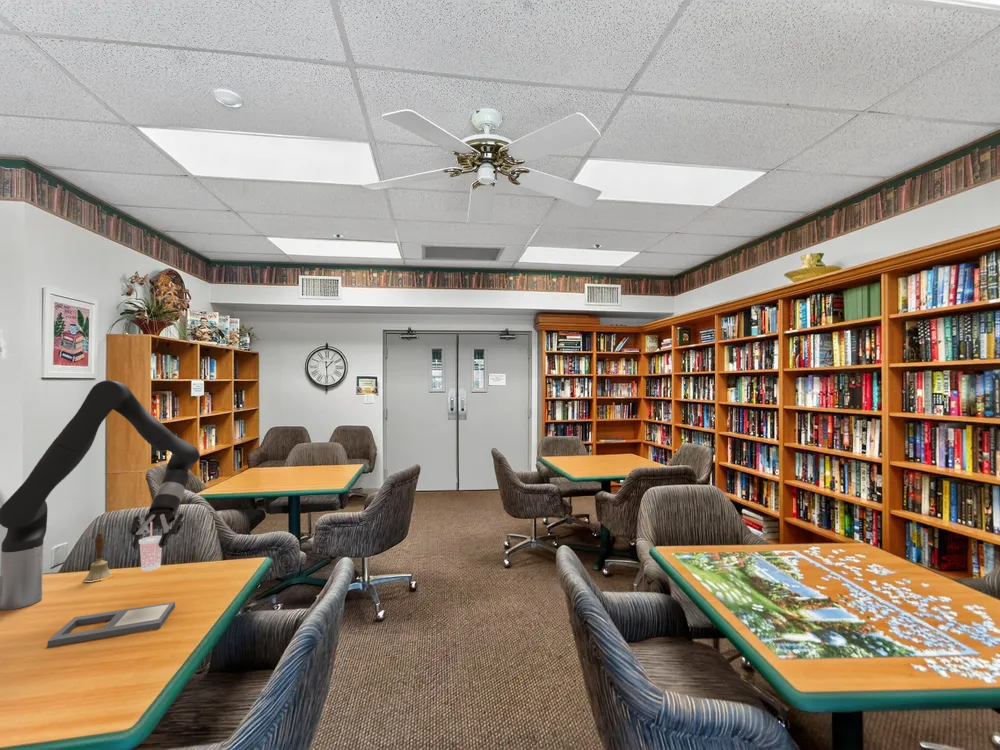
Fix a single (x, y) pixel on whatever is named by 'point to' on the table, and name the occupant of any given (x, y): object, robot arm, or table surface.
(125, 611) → the hole board
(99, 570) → the hand bell
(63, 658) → the table surface
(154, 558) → the beverage cup
